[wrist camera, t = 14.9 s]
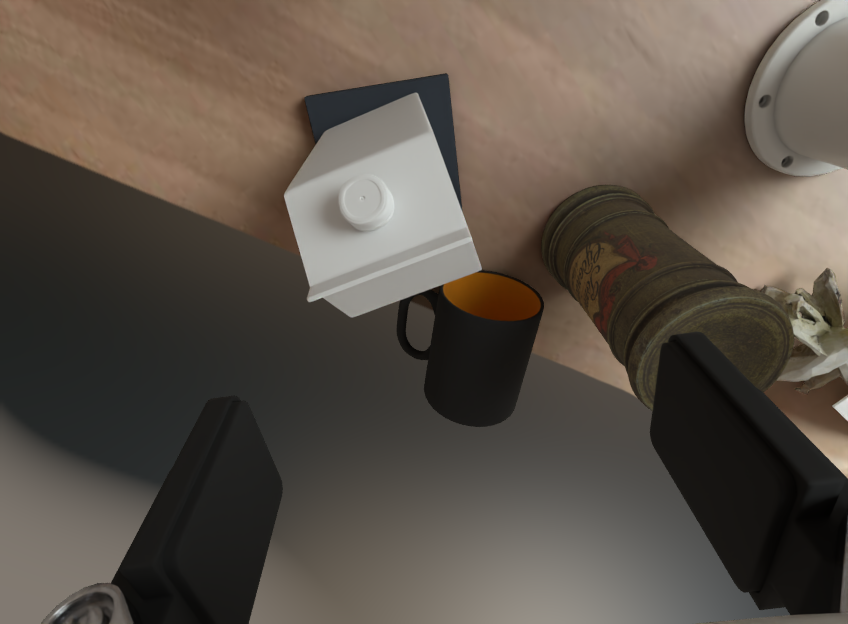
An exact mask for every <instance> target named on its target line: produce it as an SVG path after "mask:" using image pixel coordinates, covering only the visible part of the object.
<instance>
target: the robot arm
mask: <svg viewBox="0 0 848 624" xmlns="http://www.w3.org/2000/svg"><path fill="white" fill-rule="evenodd" d="M744 122H745V129H746V136H747V139H748V141H749V144H750V146H751V149H752V151H753V152H754V153H755V155H756V156H757V157H758V159H759V160H760V161H762V162H763V163H764V164H766V165H767V166H768V167H770V168H772V169H775V170H777V171H779V172H782V173H785V174H789V175H793V176H806V177H810V176H817V175H823V174H827V173H830V172H833V171H836V170H839V169H842V168H844V169H848V0H821V1H819V2H817V3H815V4H814V5H812V6H811V7H810V8H808V9H807V10H806V11H804V12H803V13H802V14H801V15H799V16H798V17H797V18H796V19H795V20H794V21H793V22H792V23H791V24H790V25H789V26H788V27H787V28H786V29H785V30H784V31H783V32H782V33H781V34H780V35H779V36H778V38H777V39H776V40H775V42H774V43H773V44H772V46H771V47H770V48H769V50H768V51H767V52H766V54H765V56H764V58H763V59H762V61H761V63H760V65H759V66H758V68H757V70H756V73H755V75H754V78H753V80H752V83H751V85H750V88H749V92H748V96H747V101H746V105H745V121H744ZM650 436H651V441H652V444H653V446H654V448H655V450H656V452H657V453H658V455H659V456H660V458H661V460H662V462H663V463H664V465H665V467H666V469H667V470H668V472H669V474H670V475H671V477H672V479H673V480H674V482H675V484H676V485H677V487H678V489H679V490H680V492H681V494H682V495H683V497H684V499H685V500H686V502H687V504H688V505H689V507H690V509H691V511H692V512H693V514H694V515H695V517H696V519H697V521H698V522H699V524H700V526H701V527H702V529H703V531H704V532H705V534H706V536H707V537H708V539H709V541H710V543H711V544H712V546H713V547H714V549H715V551H716V552H717V554H718V556H719V558H720V559H721V561H722V563H723V564H724V566H725V568H726V569H727V571H728V573H729V574H730V576H731V578H732V580H733V581H734V583H735V584H736V586H737V587H738V588H739V589H740V590H741V591H743V592H749V593H750V595H751V597H752V598H753V600H754V602H755V603H756V605H757V606H758V608H759V610H764V609H773V608H782V607H786V609H787V610H788V612H789V613H790V615H787V616H776V617H765V618H753V619H743V620H731V621H720V622H709V623H699V624H848V478H847V477H846V476H845V475H844V474H843V473H842V472H841V471H840V470H839V469H838V468H837V467H836V466H835V465H834V464H833V463H832V462H831V461H830V460H829V459H828V458H827V457H826V456H825V455H824V454H823V453H822V452H821V451H820V450H819V449H818V448H817V447H816V446H815V445H814V444H813V443H812V442H811V441H810V440H809V439H808V438H807V437H806V436H805V435H804V434H803V433H802V432H801V431H800V430H799V429H798V428H797V427H796V426H795V425H794V423H793V422H792V421H791V420H790V419H789V418H788V417H787V416H786V415H785V414H784V413H783V412H782V411H781V410H780V409H779V408H778V407H777V406H776V405H775V404H774V403H773V402H772V401H771V400H770V399H769V398H768V397H767V396H766V395H765V394H764V393H763V392H762V391H760V390H759V389H758V388H756V387H755V386H754V385H753V384H752V383H751V382H750V381H749V380H748V379H747V378H746V377H745V376H744V375H743V374H742V373H741V372H740V371H739V369H738V368H737V367H736V366H735V365H734V364H733V363H732V362H731V361H730V360H729V359H728V358H727V357H726V356H725V355H724V354H723V353H722V352H721V351H720V350H719V349H718V348H717V347H716V346H715V345H714V344H713V343H712V342H711V341H710V340H709V339H708V338H707V337H706V336H705V335H704V334H703V333H702V332H698V331H697V332H690V333H683V334H676V335H672V336H670V338H669V340H668V342H666V343H663V344H662V346H661V350H660V358H659V366H658V373H657V381H656V389H655V396H654V404H653V412H652V420H651V427H650ZM282 490H283V488H282V480H281V478H280V475H279V473H278V471H277V468H276V466H275V464H274V461H273V459H272V457H271V455H270V452H269V450H268V448H267V445H266V443H265V441H264V439H263V436H262V434H261V432H260V429H259V427H258V425H257V423H256V420H255V418H254V416H253V414H252V411H251V409H250V407H249V405H248V403H247V402H246V401H241V400H240V399H239V398H238V397H237V396H228V397H221V398H213V399H210V400H208V402H207V403H206V405H205V407H204V409H203V411H202V412H201V414H200V416H199V418H198V420H197V422H196V424H195V426H194V428H193V430H192V431H191V433H190V435H189V437H188V439H187V441H186V443H185V445H184V447H183V449H182V450H181V452H180V454H179V456H178V458H177V460H176V462H175V464H174V466H173V468H172V469H171V471H170V472H169V474H168V476H167V478H166V479H165V481H164V483H163V485H162V487H161V489H160V491H159V493H158V495H157V497H156V498H155V500H154V502H153V504H152V506H151V508H150V510H149V512H148V514H147V515H146V517H145V519H144V521H143V523H142V525H141V527H140V529H139V531H138V533H137V535H136V536H135V538H134V540H133V542H132V544H131V546H130V548H129V550H128V552H127V554H126V555H125V557H124V559H123V561H122V563H121V565H120V567H119V569H118V571H117V572H116V574H115V576H114V578H113V580H112V582H111V583H97V584H94V585H91V586H88V587H85V588H83V589H81V590H79V591H78V592H76V593H74V594H72V595H70V596H69V597H67V598H66V599H65V600H64V601H62V602H61V603H60V604H59V605H57V606H56V607H55V608H54V609H53V610H52V611H51V612H50V614H48V615H47V616H46V618H45V619H44V620H43V621H42V623H41V624H249V620H250V616H251V612H252V608H253V605H254V601H255V597H256V593H257V589H258V585H259V582H260V577H261V574H262V570H263V566H264V562H265V559H266V555H267V551H268V547H269V543H270V539H271V535H272V531H273V528H274V524H275V520H276V516H277V512H278V509H279V505H280V501H281V497H282Z"/></svg>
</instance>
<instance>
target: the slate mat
mask: <svg viewBox="0 0 848 624" xmlns="http://www.w3.org/2000/svg"><path fill="white" fill-rule="evenodd" d="M412 93H418V95H419V98H420V100H421V103H422V105H423V108H424V110H425V113H426V115H427V118H428V120H429V123H430V125H431V128H432V130H433V133H434V136H435V138H436V141H437V144H438V147H439V149H440V152H441V155H442V158H443V160H444V163H445V166H446V169H447V171H448V174H449V177H450V180H451V182H452V185H453V188H454V191H455V193H456V196H457V199H458V202H459V204H460V207H461V210H462V204H461V194H460V185H459V175H458V165H457V156H456V146H455V136H454V127H453V117H452V107H451V98H450V88H449V78H448V74H440V75H434V76H428V77H421V78H415V79H409V80H403V81H396V82H390V83H384V84H378V85H372V86H365V87H359V88H353V89H347V90H341V91H334V92H328V93H322V94H316V95H310V96H306V97H305V98H304V99H305V103H306V107H307V111H308V115H309V119H310V123H311V127H312V131H313V135H314V139H315V144H317V142H318V141H319V139H320V138H321V136H322V135H323V133H324V132H325V131H326V130H328V129H330V128H333V127H335V126H337V125H340V124H342V123H344V122H347V121H349V120H351V119H354V118H356V117H358V116H361V115H363V114H365V113H368V112H370V111H372V110H375V109H377V108H379V107H382V106H384V105H386V104H389V103H391V102H393V101H396V100H398V99H400V98H403V97H405V96H407V95H410V94H412Z"/></svg>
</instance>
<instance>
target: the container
mask: <svg viewBox="0 0 848 624" xmlns="http://www.w3.org/2000/svg"><path fill="white" fill-rule="evenodd" d="M541 249H542V257H543V261H544V263H545V266H546V268H547V269H548V271H549V272H550V273H551V275H552V276H553V277H554V278H555V279H556V280H557V281H558V282H559V284H560V285H561V286H563V287H564V288H565V289H567V290H568V291H569V293H570V294H571V295H572V297H573V298H574V299H575V300H576V301H578V302H579V304H580V305H581V306H582V308H583V309H584V311H585V312H586V313H587V315H588V316H589V317H590V319H591V320H592V322H593V323H594V324H595V326H596V327H597V329H598V330H599V332H600V333H601V334H602V336H603V337H604V339H605V340H606V342H607V343H608V344H609V346H610V349H611V351H612V353H613V355H614V356H615V358H616V359H617V360H618V361H619V362H620V363H621V364H622V365H624V366H625V368H626V371H627V374H628V377H629V381H630V385H631V387H632V390H633V392H634V393H635V395H636V396H637V398H638V399H639V400H640V401H641V402H642V403H643V404H644V405H645V406H646V407H648V408H649V409H650V410H652V411H653V404H654V396H655V389H656V381H657V373H658V366H659V358H660V350H661V346H662V344H663V343H666V342H668V340H669V338H670V336H672V335H676V334H683V333H690V332H697V331H698V332H702V333H703V334H704V335H705V336H706V337H707V338H708V339H709V340H710V341H711V342H712V343H713V344H714V345H715V346H716V347H717V348H718V349H719V350H720V351H721V352H722V353H723V354H724V355H725V356H726V357H727V358H728V359H729V360H730V361H731V362H732V363H733V364H734V365H735V366H736V367H737V368H738V369H739V371H740V372H741V373H742V374H743V375H744V376H745V377H746V378H747V379H748V380H749V381H750V382H751V383H752V384H753V385H754V386H755V387H756V388H758V389H759V390H760V391H762V392H764V391H766V390H767V389H768V388H769V387H770V386H771V385H772V384H773V383H774V382H775V381H776V380H777V379H778V377H779V376H780V375H781V374H782V372H783V371H784V369H785V367H786V366H787V364H788V362H789V359H790V357H791V354H792V350H793V345H794V331H793V327H792V324H791V321H790V319H789V317H788V315H787V313H786V311H785V310H784V309H783V308H782V306H781V305H780V304H779V303H778V302H777V301H775V300H774V299H773V298H772V297H770V296H769V295H767V294H765V293H763V292H760V291H757V290H754V289H751V288H749V287H747V286H745V285H743V284H740V283H738V282H737V280H736V279H735V277H734V276H733V275H732V274H731V273H730V272H729V271H728V270H726V269H724V268H723V267H720V266H718V265H716V264H715V263H714V262H712V261H711V260H709V259H708V258H707V257H705V256H704V255H703V254H701V253H700V252H699V251H697V250H696V249H695V248H693V247H692V246H691V245H689V244H688V243H687V242H685V241H684V240H683V239H681V238H680V237H679V236H677V235H676V234H675V233H673V232H672V231H671V230H670V229H669V228H668V226H667V225H666V223H665V222H664V221H663V220H662V219H661V218H659V217H658V216H656V215H655V214H654V212H653V210H652V208H651V207H650V206H649V205H648V204H647V203H646V202H645V201H644V200H642V198H641V197H640V196H639V195H638V194H636V193H635V192H633V191H632V190H630V189H627V188H624V187H621V186H615V185H600V186H593V187H590V188H587V189H584V190H582V191H580V192H578V193H576V194H574V195H572V196H571V197H569V198H568V199H567V200H565V201H564V202H563V203H562V204H561V205H560V206H559V207H558V208H557V209H556V210H555V211H554V212H553V214H552V215H551V217H550V218H549V220H548V222H547V224H546V226H545V229H544V232H543V236H542V245H541Z"/></svg>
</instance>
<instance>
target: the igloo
mask: <svg viewBox="0 0 848 624" xmlns="http://www.w3.org/2000/svg"><path fill="white" fill-rule="evenodd" d="M833 407H834V408H835V409H836V410H837V411H838V412H839V413H840V414H841V415H842V416H843V417H844V418H845V419H846V420H847V421H848V395H847V396H846V397H844V398H843V399H841V400H840V401H838V402H837V403H835V404H834V405H833Z"/></svg>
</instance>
